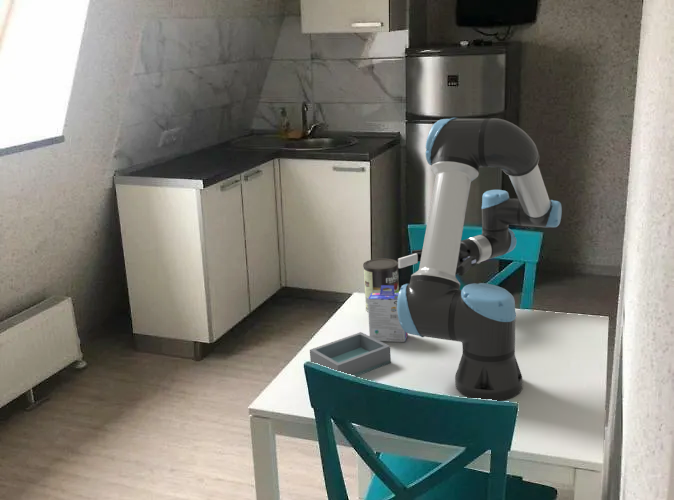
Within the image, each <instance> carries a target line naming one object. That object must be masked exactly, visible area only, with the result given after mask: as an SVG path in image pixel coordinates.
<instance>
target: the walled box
mask: <svg viewBox="0 0 674 500" xmlns="http://www.w3.org/2000/svg"><path fill="white" fill-rule="evenodd" d="M309 355H310V356H309V358H310V359H309V361H310V363H311V362H314V363H318V364H320V365H323V366H326V367H329V368H331V369H334V370H337V371H341V372H344V373H347V374H351V375H355V377H357V376H360V375H363V374H365V373H367V372H370V371H373V370H375V369H378V368H381V367H383V366H386V365H388V364H391V363H392V361H391V360H392V359H391V345H389V344H386V343H385V342H383V341H378V340H376V339H374V338H372V337H370V335H368V334H366V333H364V332H361V331H360V332H357V333H355V334H351V335H349V336H345V337H343V338H339V339H338V340H334V341H331V342H328V343H326V344H322V345H320V346H317V347H314V348H311V349H309Z"/></svg>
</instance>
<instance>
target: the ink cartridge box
mask: <svg viewBox="0 0 674 500" xmlns="http://www.w3.org/2000/svg"><path fill="white" fill-rule="evenodd" d="M385 288H390V289H392V291H383V289H385ZM397 300H398V293H394V286H389V285H381V291H380V293H371V295H370V296H369V298H368V312H367V313H368V329H369V331H368V332H369V336H370V337H372V338H374V339H376V340H378V341H380V342H393V343H394V342H396V343H397V342H398V343H406V340H407V338H408V336H409V334H408V333H406V332H405V331H404V330H403V329H402V327H401V325H400V322H399V319H398V312H397Z"/></svg>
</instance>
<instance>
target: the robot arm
mask: <svg viewBox="0 0 674 500" xmlns="http://www.w3.org/2000/svg"><path fill="white" fill-rule="evenodd" d="M425 149H426V151H425V159H426V162H427V164H428V165H430V171H431V172H432V173H433V175H434V176H435V179H434V183H433V188H432V195H431V200H430V201H431V202H430V205H429V206H430V207H429V211H428V216H427V222H426V227H425V232H424V233H425V234H424V239H423V244H422V245H423V246H422V249H413V250H411V254H409V255H405V256H402V257H399V258H397V262H398V269H403V268H406V267H407V268H408V267H409V266H413V265H417V264H419V267H418V270H417V271H415V272H414V273H412V274H411V275H410V280H409V283H405V284H403V285H401V287H399V293H398V300H397V312H398V319H399V322H400V325H401V327H402V329H403V330H404V331H405V332H406V333H408V335H411V336H418V337H420V338H425V337H426V338H432V339H437V340H446V341H453V342H459V343H461V344H462V345H461V346H462V354H461V357H460V361H459V364H458V367H457V370H456V372H455V376H454V383H455V384H454V385H455V388H456V389H457V391H458V392H459V393H460V394H462V395H463V396H466V397H468V398H470V397H471V398H470V399H473V398H481V399H492V400H498V401H504V400H508V399H511V398H514V397H516V396H517V395H519V394H520V393H521V392H522V390H523V376H522V375H523V374H522V372H521V370H520V366H519V363H518V361H517V358H516V357H517V356H516V318H517V312H516V304H515V303H516V302H515V297H514V296H513V295H512V293H510V291H508V290H507V289H505V288H504V287H500V286H498V285H495V284H493V283H492V284H491V283H486V282H478V283H475V282H474V283H469V284H466V285H464V286H463V287H462V289H460V288H461V282H459V280H458V278H457V277H456V275H457V274H458V275H459V276H460V277H461V276H464V275H465V274H467V272H468V271H469V270H470V269H471V268H473V267H475V266H477V264H481V262H484V261H487V260H490V259H493V258H497V257H501V256H504V255H506V254H509V253H510V252H513V250H514V249H515V248H516V245H517V237H515V235H516V234H515V232H514V231H513V230H512V229H510V227H509V225H510V226H523V227H537V228H557V227H558V226H559V225H560V224H561V221H562V220H561V219H562V214H563V213H562V212H563V211H562V210H563V209H562V203H561V202H560V201H558V200H553V199H550V197H549V195H548V191H547V188H546V186H545V183H544V180H543V176H542V173H541V169H540V167H539V165H538V164H539V163H540V162H539V161H540V154H539V151H538V148H537V145H536V143H535V142H534V141H533V139H532V138H531V136H529V134H528V133H526V131H524V130H523V129H522V128H520V127H519V126H518V125H516V124H514V123H513V122H510V121H508V120H506V119H503V118H502V119H501V118H497V117H496V118H492V117H491V118H458V117H451V118H443V119H442V118H441V119H439V120H437V121H436V122H434V124H432V126H431V128H430V130H429V132H428V134H427V138H426V141H425ZM480 168H496V169H501V171H503V173H505V174H506V175H508V177H509V179H510V181H511V184H512V186H513V188H514V191H515V193H516V196H517V198H510V194H509V192H508V191H506V190H504V189H503V190H502V189H490V190H486V191H484V193H483V194H482V197H481V198H482V199H481V200H482V201H481V202H482V203H481V208H480V209H481V234H477V235H475V236H472V237H469V238H466V239H463V240H462V237H463V232H464V224H465V217H466V214H467V206H468V201H469V195H470V190H471V184H472V183H471V182H473V181H474V180H476V179H477V178H478V177H479V174H480ZM418 262H419V263H418Z"/></svg>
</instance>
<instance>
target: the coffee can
mask: <svg viewBox="0 0 674 500" xmlns="http://www.w3.org/2000/svg"><path fill="white" fill-rule="evenodd" d="M362 264H363V265H362V267H363V277H364V278H363V279H364V280H363V282H364V298H365V301H364V302H365V311H366V312H367V313H368V298H369V296H370V295H371V293H380V291H381V285H389V286H394V293H399V291H400V287H399V286H400V285H399V268H398V260H396V259H392V258H385V257H384V258H373V259H368V260H366V261H365V262H363V263H362ZM383 291H392V289H390V288H385V289H383Z"/></svg>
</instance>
